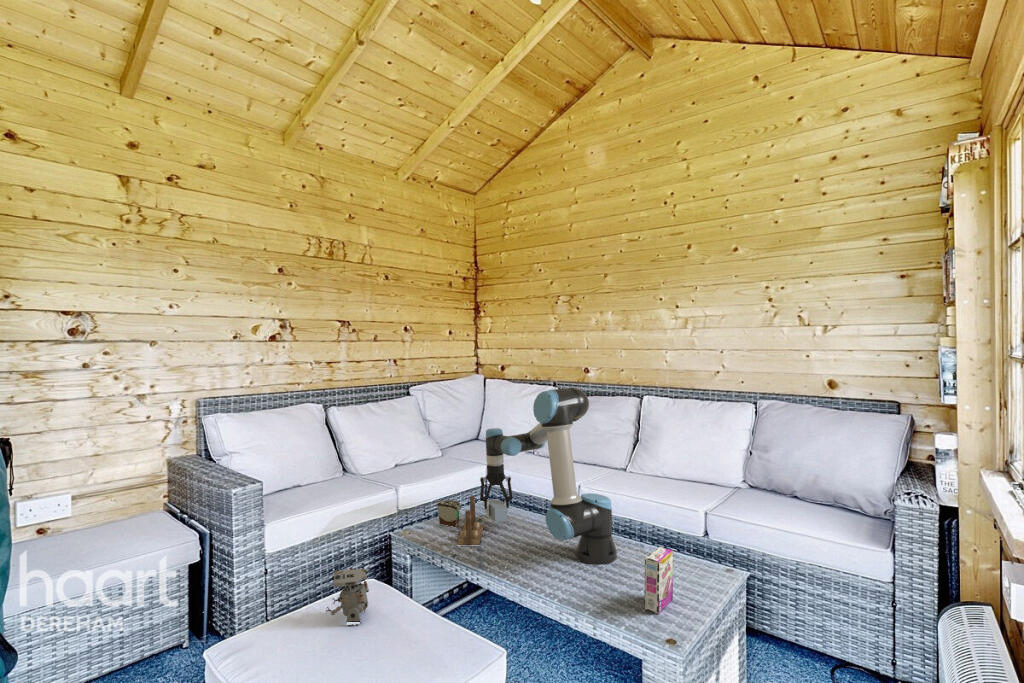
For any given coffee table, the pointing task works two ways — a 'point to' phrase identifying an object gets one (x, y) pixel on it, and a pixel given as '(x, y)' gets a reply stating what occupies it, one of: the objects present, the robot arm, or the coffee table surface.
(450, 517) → the food container
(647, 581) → the candy bar box
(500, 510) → the shelf board
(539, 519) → the coffee table surface
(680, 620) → the coffee table surface
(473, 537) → the peg stand
